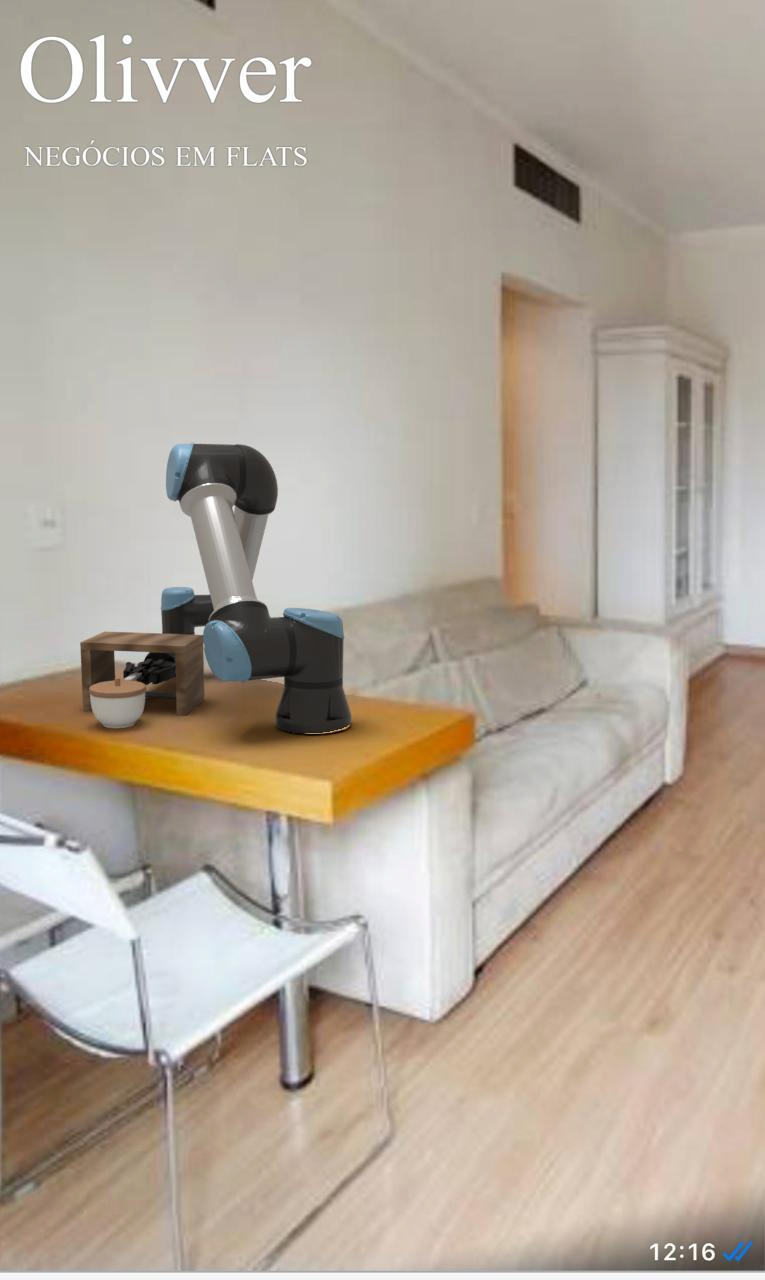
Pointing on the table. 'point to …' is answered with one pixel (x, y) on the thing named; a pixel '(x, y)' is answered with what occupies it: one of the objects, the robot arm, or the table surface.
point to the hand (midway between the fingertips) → (127, 685)
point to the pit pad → (160, 695)
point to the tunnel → (186, 648)
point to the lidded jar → (118, 702)
